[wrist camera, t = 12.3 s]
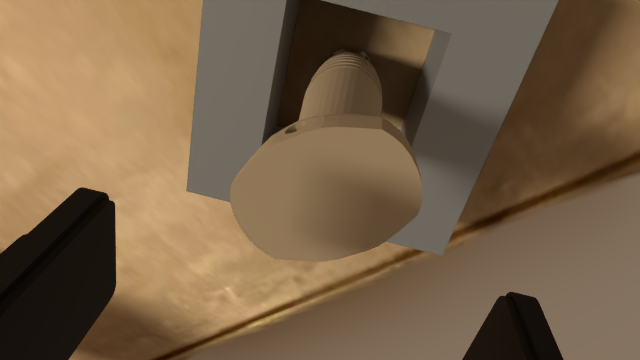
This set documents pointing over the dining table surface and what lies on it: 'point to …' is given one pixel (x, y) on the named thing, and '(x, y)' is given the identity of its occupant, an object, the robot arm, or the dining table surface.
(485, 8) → the well block
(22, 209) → the dining table surface
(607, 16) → the dining table surface
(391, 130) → the handle
